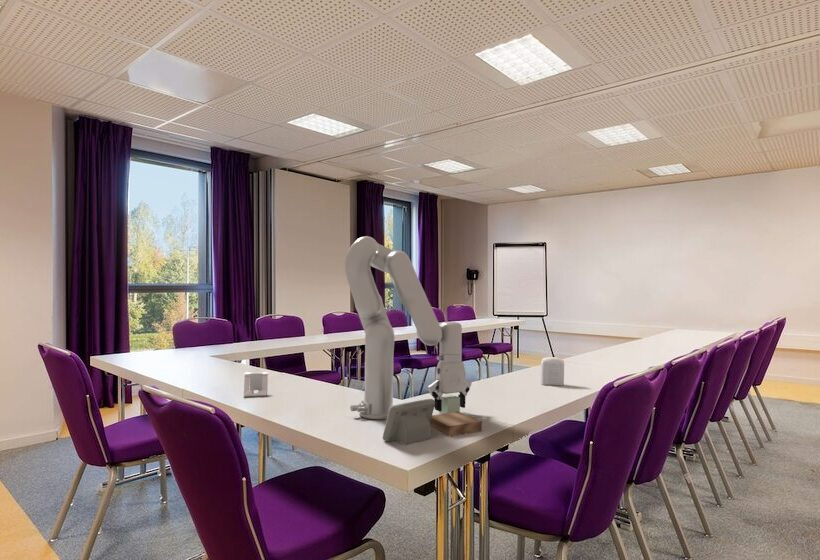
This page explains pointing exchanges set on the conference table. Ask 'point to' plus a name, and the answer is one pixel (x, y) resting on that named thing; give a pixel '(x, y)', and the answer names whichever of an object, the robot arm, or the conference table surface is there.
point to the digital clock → (409, 422)
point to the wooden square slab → (455, 423)
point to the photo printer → (552, 371)
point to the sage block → (450, 404)
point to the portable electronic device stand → (256, 384)
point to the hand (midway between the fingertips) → (450, 408)
